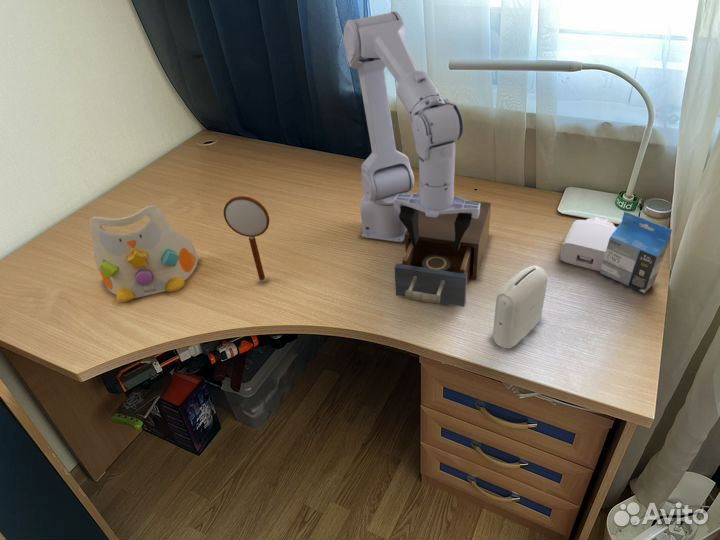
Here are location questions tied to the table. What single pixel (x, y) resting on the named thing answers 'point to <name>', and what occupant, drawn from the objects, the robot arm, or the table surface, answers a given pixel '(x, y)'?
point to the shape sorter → (142, 255)
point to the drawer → (434, 273)
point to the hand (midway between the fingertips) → (436, 244)
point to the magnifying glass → (248, 223)
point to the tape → (436, 263)
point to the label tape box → (635, 252)
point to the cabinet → (444, 232)
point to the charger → (587, 242)
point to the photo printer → (519, 306)
